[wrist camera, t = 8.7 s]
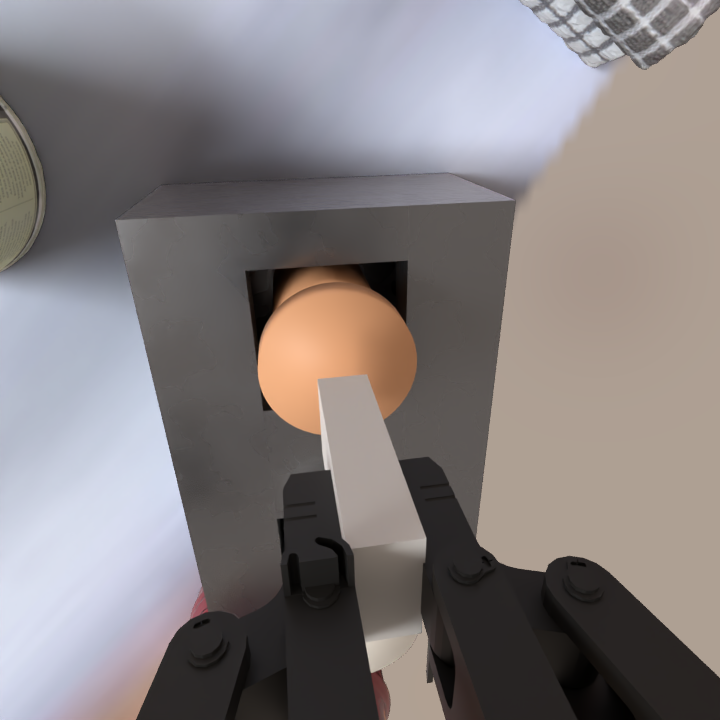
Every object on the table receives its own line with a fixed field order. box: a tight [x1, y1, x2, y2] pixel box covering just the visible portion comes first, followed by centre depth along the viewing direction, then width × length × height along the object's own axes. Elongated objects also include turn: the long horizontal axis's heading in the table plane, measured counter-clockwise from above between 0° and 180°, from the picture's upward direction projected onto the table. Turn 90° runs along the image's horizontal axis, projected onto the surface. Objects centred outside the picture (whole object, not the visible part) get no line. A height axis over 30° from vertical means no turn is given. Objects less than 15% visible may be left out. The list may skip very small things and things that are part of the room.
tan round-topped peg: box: [258, 264, 417, 435], centre depth 22 cm, size 6×6×9 cm
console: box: [115, 173, 516, 619], centre depth 26 cm, size 22×14×8 cm, turn 1°
